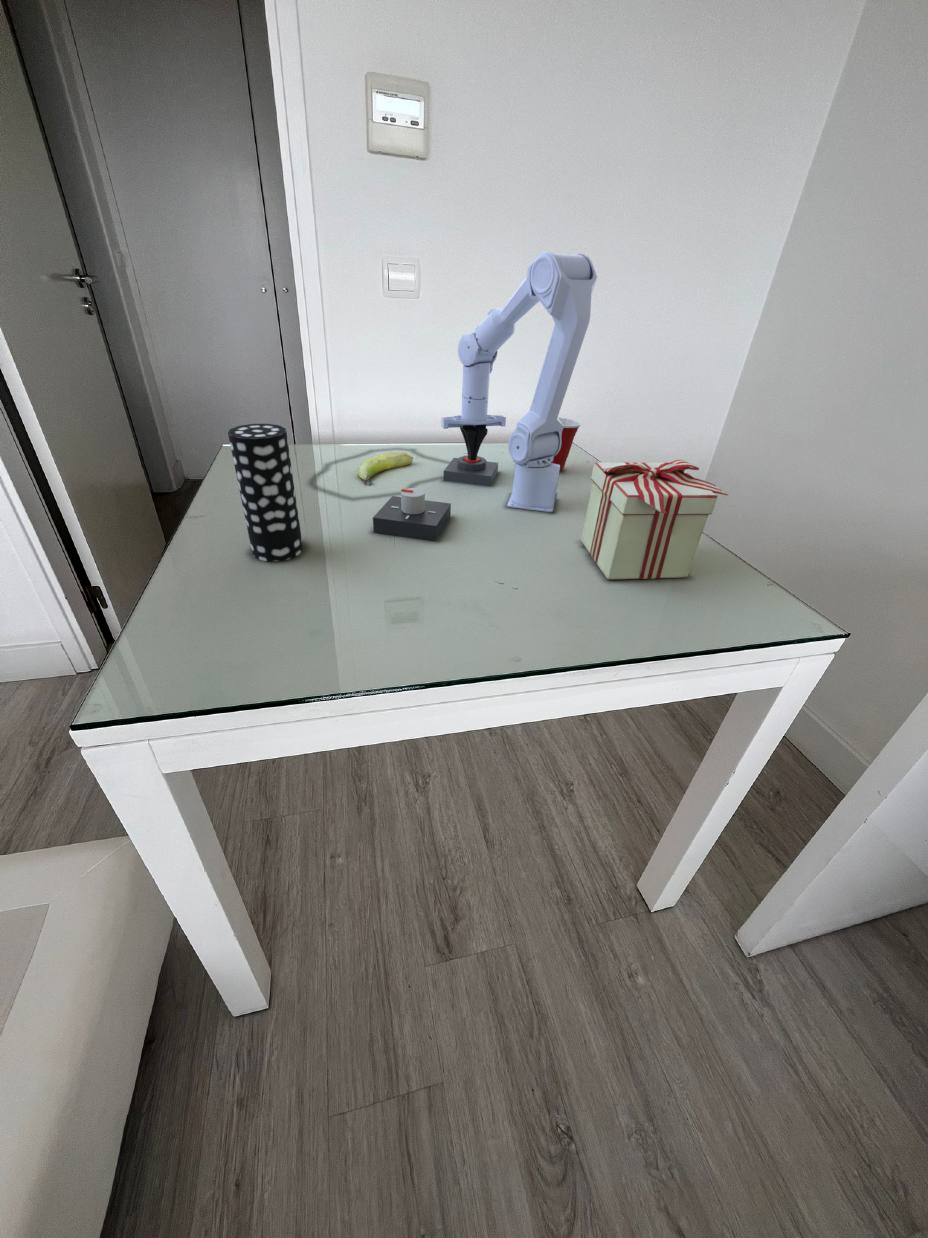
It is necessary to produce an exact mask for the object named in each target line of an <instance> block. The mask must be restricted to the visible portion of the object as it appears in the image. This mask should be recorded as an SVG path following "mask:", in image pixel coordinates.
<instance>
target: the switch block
mask: <svg viewBox="0 0 928 1238" xmlns="http://www.w3.org/2000/svg"><path fill="white" fill-rule="evenodd" d="M465 457H468V455H461V456H459V457H453V458H452V459H451V460H450V462H449V463H448V465H447V466H446V467H445V468H444V469H443V482H452V483H460V484H468V485H477V486H483V487H484V486H485V487H491V486H492V484H493V482H494V480H495V478H496V477H497V474H498V472H499V462H495V461H487V459H486V458H485V457H483V456H480V455H477V457H478V458H479V459H480V462H478V463H469V462H465V461H464V458H465Z"/></svg>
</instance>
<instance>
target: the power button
mask: <svg viewBox="0 0 928 1238" xmlns="http://www.w3.org/2000/svg"><path fill="white" fill-rule="evenodd" d="M464 461H465V462H469V463H478V462H480V459H479V458H478V457H477V458H476V460H470V459H469V458H468V457H465V458H464Z"/></svg>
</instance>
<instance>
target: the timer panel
mask: <svg viewBox="0 0 928 1238" xmlns="http://www.w3.org/2000/svg"><path fill="white" fill-rule="evenodd" d="M451 512H452V503H450V502H442V501H435V500H426V499H425V511H424V512H423V513H420V514H406V513H404V512H402V510H401V496H395V495H391V497H390V498H389V499H388V500H387V502H385V504H383V505H382V507H381V508H380V509H379V510H378V511H377V512H376V514H374V516H372V526H373V527H372V528H373V533H375V534H383V535H388V536H396V537H404V538H410V539H411V538H412V539H417V540H426V541H431V542H432V541H433V542H437V540H438V539H439V537H440V536H441V534H442V532H443V531H444V529H445V528H446V526H447V524H448V522H450V519H451V517H452V516H451V514H452V513H451Z"/></svg>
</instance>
